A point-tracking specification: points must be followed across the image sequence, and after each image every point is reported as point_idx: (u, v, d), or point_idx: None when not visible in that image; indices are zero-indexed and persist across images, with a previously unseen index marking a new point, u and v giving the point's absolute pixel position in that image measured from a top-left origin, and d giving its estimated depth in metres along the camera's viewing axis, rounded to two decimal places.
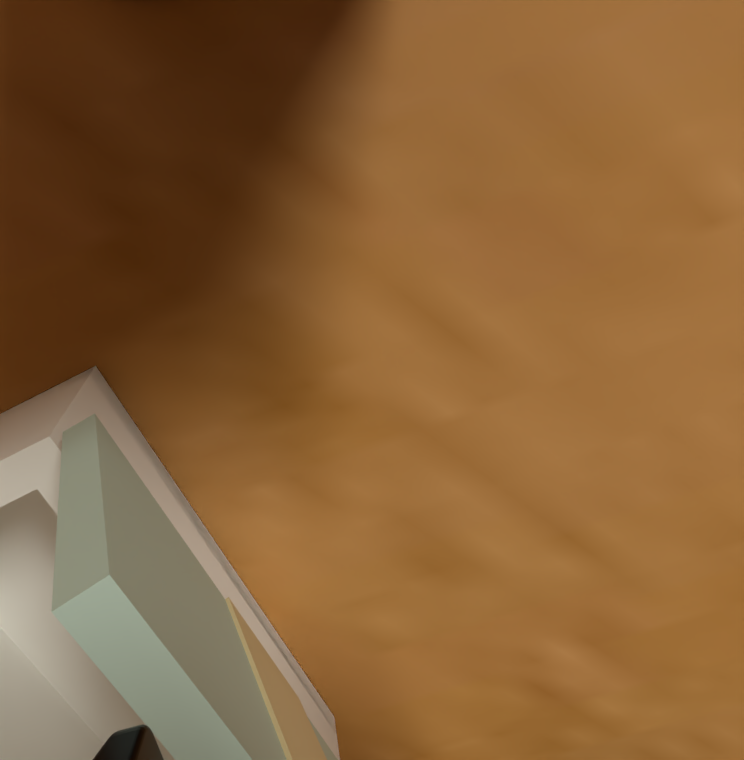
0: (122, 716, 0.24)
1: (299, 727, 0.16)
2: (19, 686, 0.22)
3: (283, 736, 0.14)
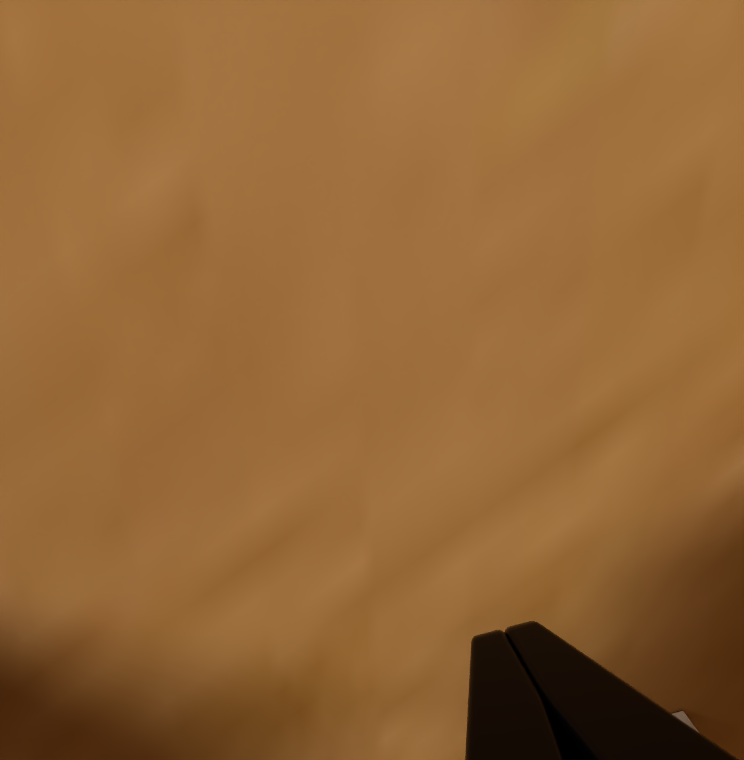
0: None
1: None
2: None
3: None
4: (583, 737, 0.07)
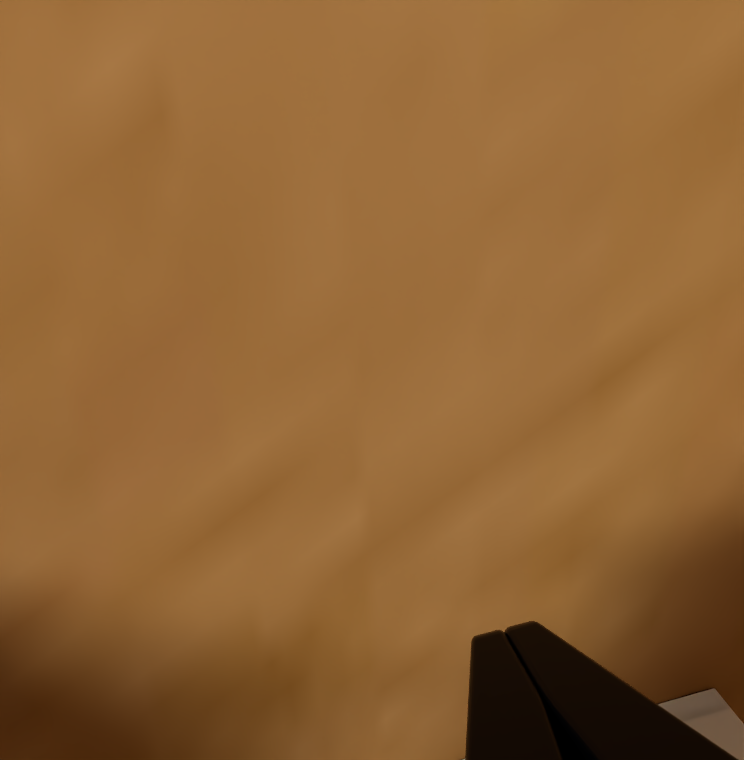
0: None
1: None
2: None
3: None
4: (583, 737, 0.07)
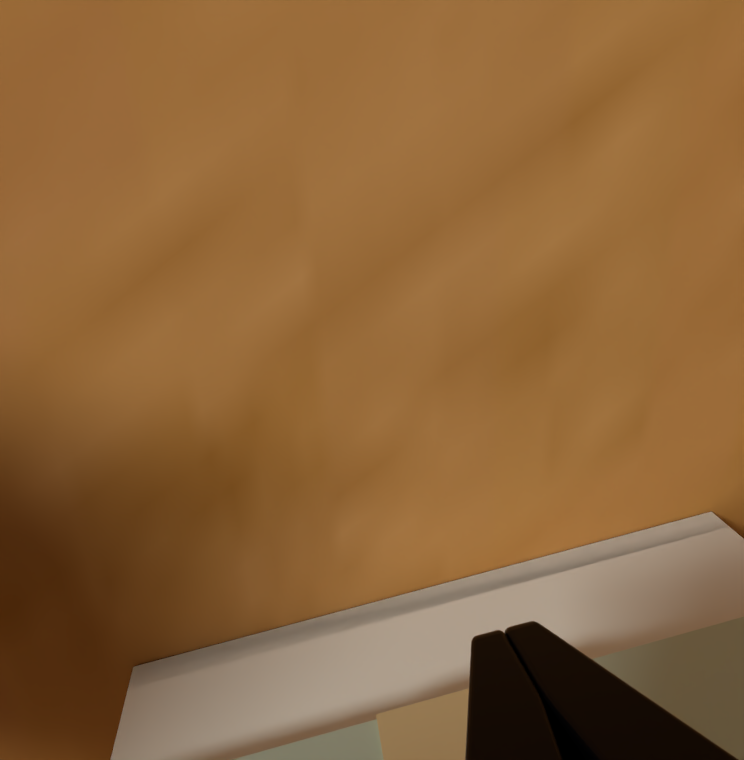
0: None
1: None
2: None
3: None
4: (583, 737, 0.07)
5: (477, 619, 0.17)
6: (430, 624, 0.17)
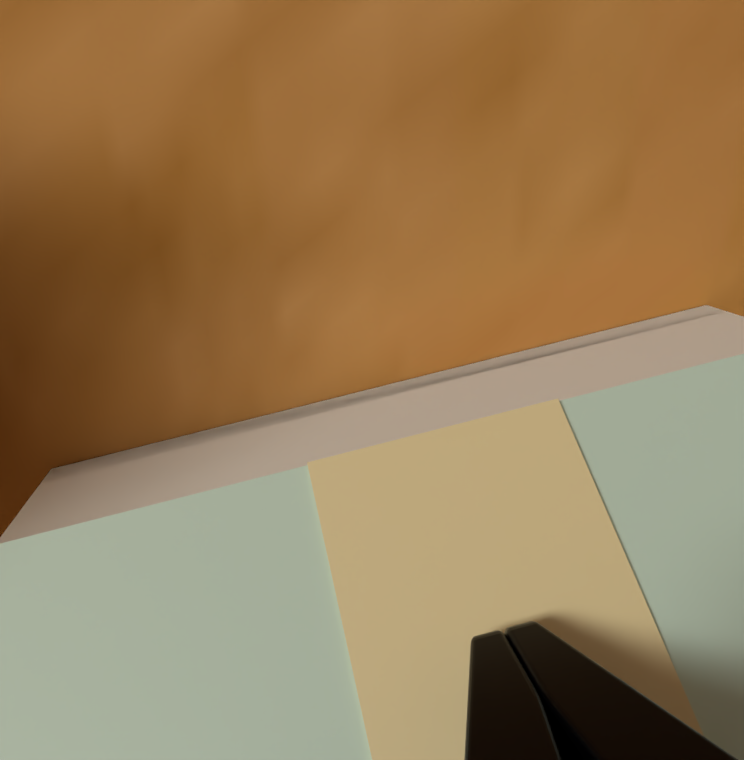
0: None
1: None
2: None
3: None
4: (583, 737, 0.07)
5: (437, 398, 0.15)
6: (384, 406, 0.15)
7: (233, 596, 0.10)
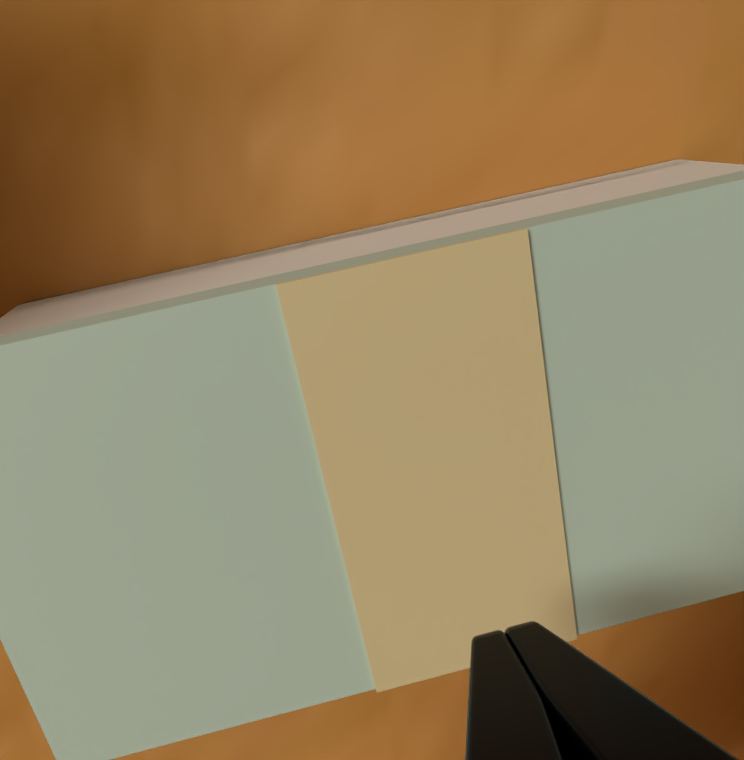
0: None
1: (441, 439, 0.12)
2: None
3: (350, 579, 0.13)
4: (583, 737, 0.07)
5: (405, 232, 0.15)
6: (352, 241, 0.15)
7: (214, 403, 0.11)
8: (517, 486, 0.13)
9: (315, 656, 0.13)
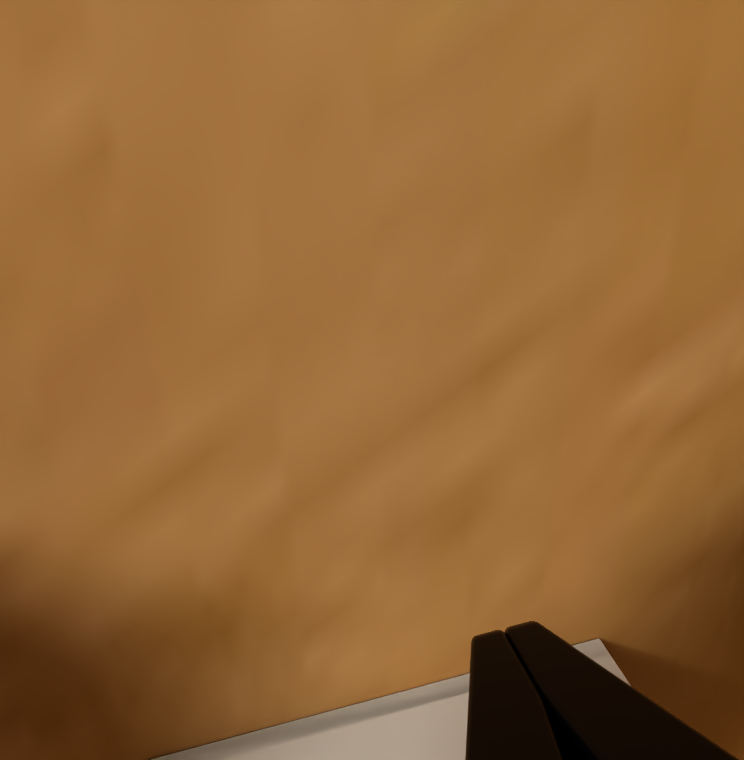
0: None
1: None
2: None
3: None
4: (583, 737, 0.07)
5: (411, 730, 0.23)
6: (375, 733, 0.23)
7: None
8: None
9: None
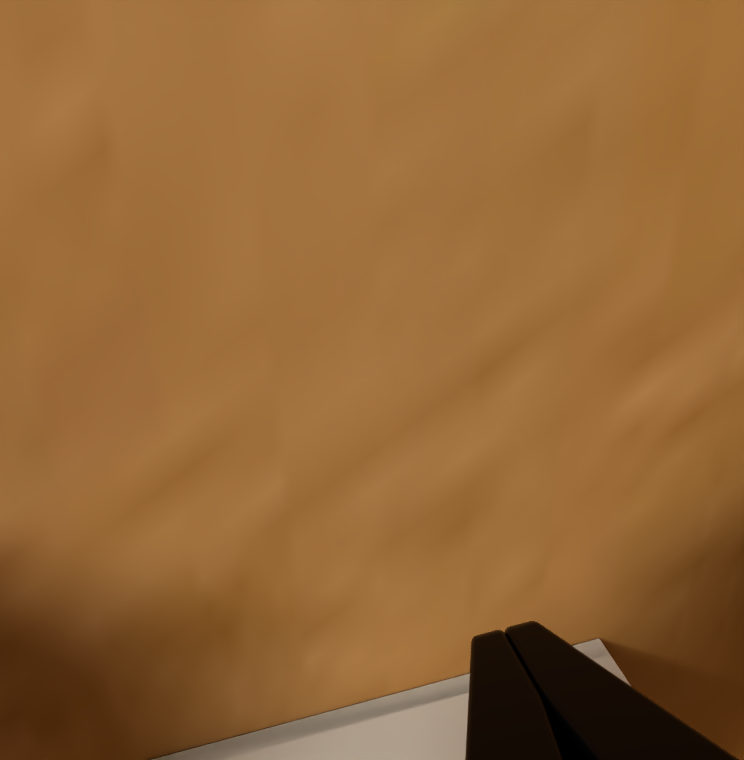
0: None
1: None
2: None
3: None
4: (583, 737, 0.07)
5: (411, 730, 0.23)
6: (375, 733, 0.23)
7: None
8: None
9: None
